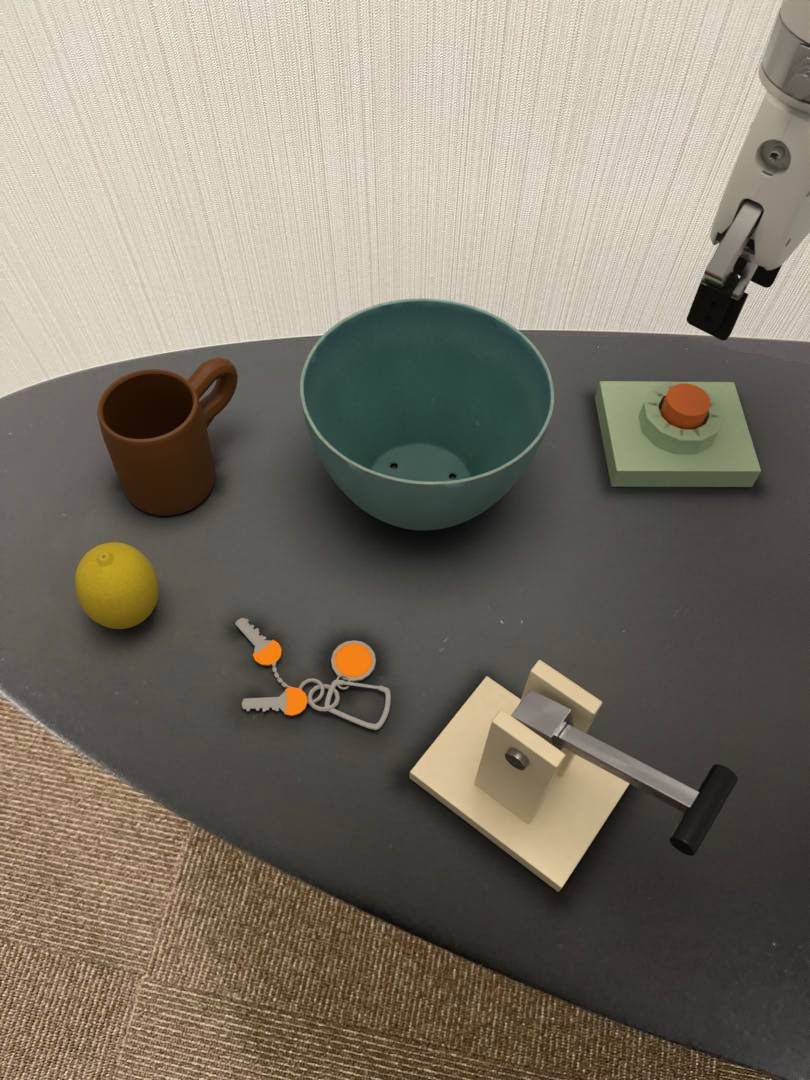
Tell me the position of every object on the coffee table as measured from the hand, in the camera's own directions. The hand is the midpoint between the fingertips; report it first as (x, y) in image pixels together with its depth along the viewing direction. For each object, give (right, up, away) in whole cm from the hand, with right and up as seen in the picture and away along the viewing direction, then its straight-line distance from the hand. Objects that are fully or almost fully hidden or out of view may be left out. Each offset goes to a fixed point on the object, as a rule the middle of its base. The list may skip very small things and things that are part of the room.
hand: (730, 301), depth 66 cm
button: (0, -7, +10) cm, 12 cm away
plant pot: (-22, -13, +10) cm, 28 cm away
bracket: (-16, -34, -4) cm, 37 cm away
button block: (-1, -9, +13) cm, 16 cm away
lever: (-12, -30, -14) cm, 36 cm away
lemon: (-44, -23, +2) cm, 50 cm away
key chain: (-31, -27, -1) cm, 41 cm away
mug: (-41, -11, +10) cm, 44 cm away
